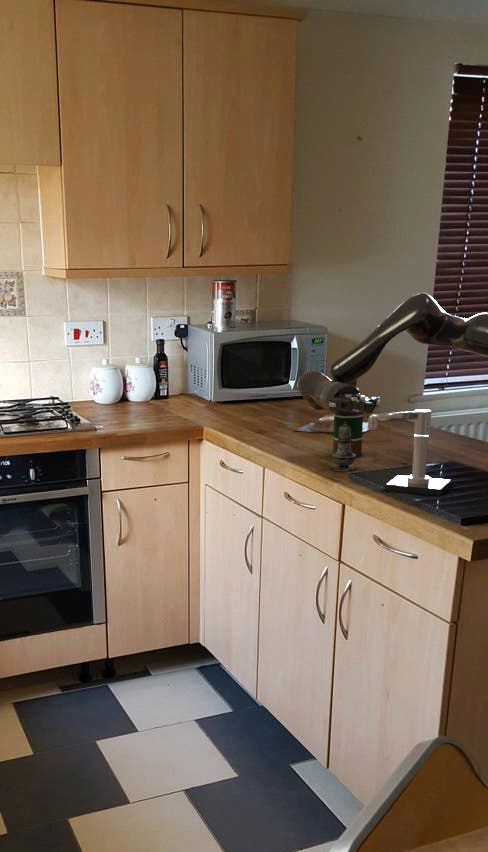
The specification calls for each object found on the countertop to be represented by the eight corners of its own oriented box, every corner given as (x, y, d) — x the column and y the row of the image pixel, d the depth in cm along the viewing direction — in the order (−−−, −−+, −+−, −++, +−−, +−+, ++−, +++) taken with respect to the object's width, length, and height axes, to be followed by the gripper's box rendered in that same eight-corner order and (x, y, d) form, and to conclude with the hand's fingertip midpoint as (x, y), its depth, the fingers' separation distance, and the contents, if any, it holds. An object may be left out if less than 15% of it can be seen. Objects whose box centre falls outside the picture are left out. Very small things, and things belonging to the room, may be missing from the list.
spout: (425, 432, 196) (427, 409, 194) (432, 435, 192) (434, 411, 190) (364, 436, 193) (365, 412, 192) (370, 438, 190) (371, 414, 188)
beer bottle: (364, 453, 238) (368, 363, 231) (358, 458, 232) (362, 365, 224) (336, 451, 241) (339, 362, 234) (329, 457, 235) (332, 365, 227)
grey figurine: (336, 466, 223) (337, 419, 219) (358, 467, 220) (360, 420, 217) (328, 470, 218) (329, 422, 215) (351, 472, 216) (353, 423, 212)
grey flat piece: (377, 424, 283) (378, 412, 281) (359, 434, 266) (360, 421, 265) (316, 421, 292) (316, 409, 291) (294, 431, 275) (295, 418, 274)
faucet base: (450, 486, 199) (454, 433, 195) (439, 495, 191) (443, 440, 187) (397, 481, 204) (400, 430, 201) (385, 490, 196) (388, 437, 192)
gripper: (314, 384, 210) (342, 392, 193) (366, 381, 212) (398, 389, 196) (313, 415, 212) (341, 426, 196) (365, 412, 214) (396, 423, 198)
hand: (369, 408), depth 196 cm, fingers closed
